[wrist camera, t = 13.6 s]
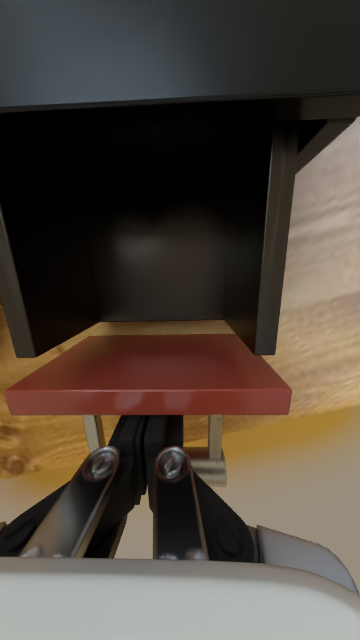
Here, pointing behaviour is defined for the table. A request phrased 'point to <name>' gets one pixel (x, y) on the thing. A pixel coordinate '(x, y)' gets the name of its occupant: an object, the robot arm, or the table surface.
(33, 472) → the table surface
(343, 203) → the table surface
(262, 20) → the small drawer unit
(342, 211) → the table surface
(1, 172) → the red drawer with handle
